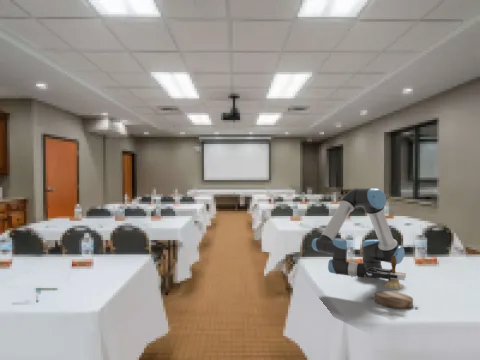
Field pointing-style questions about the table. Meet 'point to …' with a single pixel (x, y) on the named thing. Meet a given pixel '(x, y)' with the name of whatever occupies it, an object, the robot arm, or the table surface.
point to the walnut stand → (393, 299)
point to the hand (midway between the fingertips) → (405, 276)
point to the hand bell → (393, 282)
